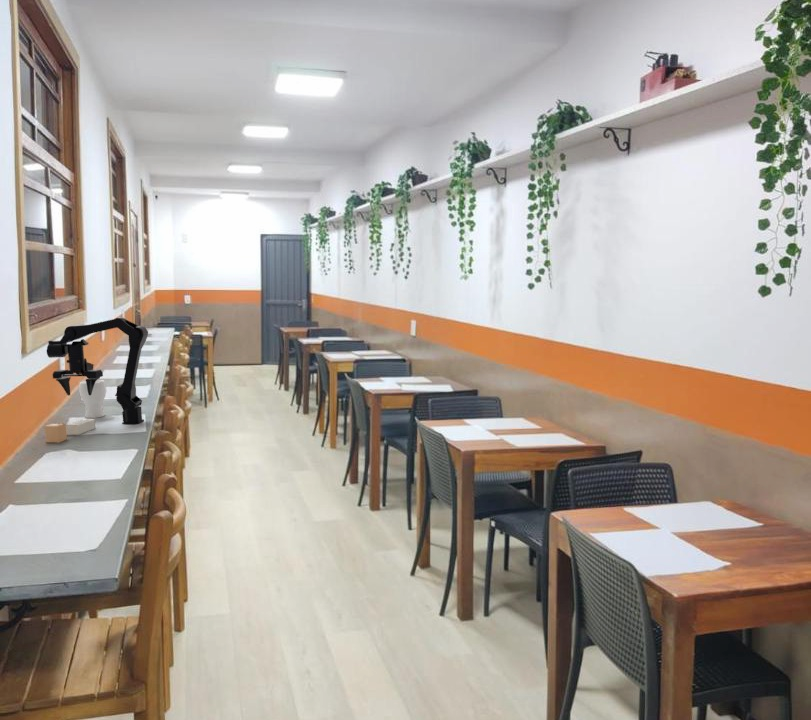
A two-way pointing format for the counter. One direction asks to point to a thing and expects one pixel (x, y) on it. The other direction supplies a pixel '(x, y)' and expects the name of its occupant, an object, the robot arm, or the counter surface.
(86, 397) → the cup
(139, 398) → the robot arm
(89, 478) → the counter surface
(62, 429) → the light brown cardboard box
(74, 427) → the white slotted tower
